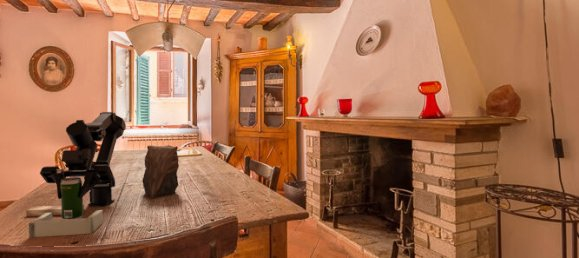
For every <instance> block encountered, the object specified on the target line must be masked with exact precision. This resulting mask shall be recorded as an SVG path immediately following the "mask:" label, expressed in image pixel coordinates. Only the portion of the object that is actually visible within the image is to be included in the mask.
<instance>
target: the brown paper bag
mask: <svg viewBox="0 0 579 258" xmlns="http://www.w3.org/2000/svg"><path fill="white" fill-rule="evenodd" d="M178 148H179V147H178V146H177V145H175V146H173V145H169V144H168V145H164V146H163V145H160V146H159V145H158V146H157V145H147V146H146V149H147V152H146V155H145V156H144V168H145V170H144V173H143V177H142V186H143V189H144V195H146V196H147V197H148V198H149V199H151V200H154V199H159V198H163V197H168V196H172V195H175V194H177V192H176V190H177V189H178V187H179V180H178V169H179V167H180V165H179V155H178Z"/></svg>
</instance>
